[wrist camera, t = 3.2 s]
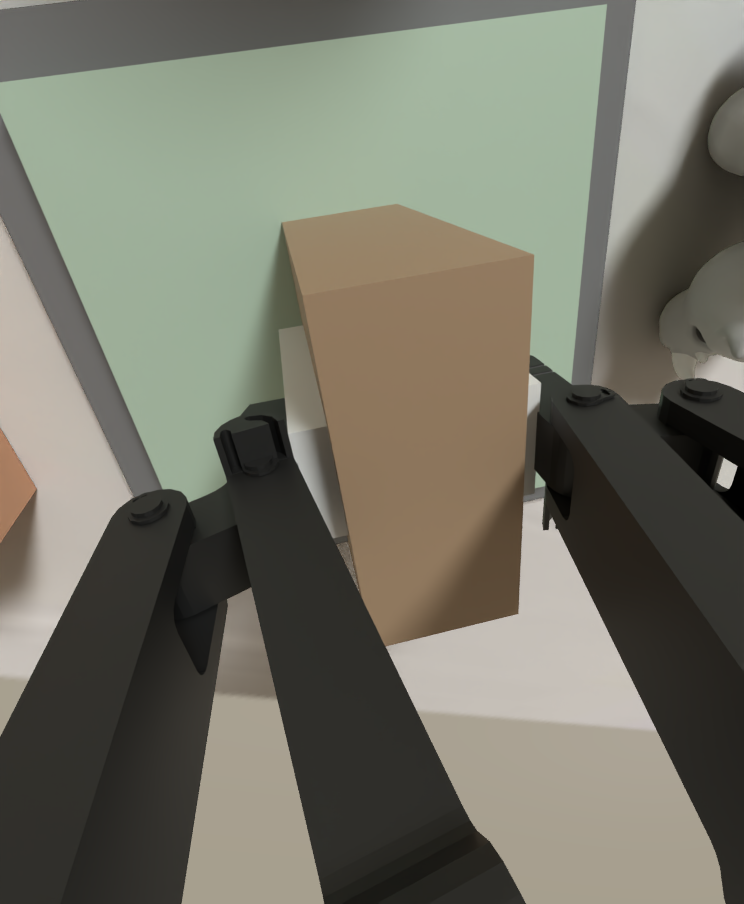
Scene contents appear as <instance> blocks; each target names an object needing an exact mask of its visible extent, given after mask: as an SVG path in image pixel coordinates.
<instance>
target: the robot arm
mask: <svg viewBox="0 0 744 904" xmlns="http://www.w3.org/2000/svg"><path fill="white" fill-rule="evenodd" d="M279 341H280V352H281V363H282V373H283V384H284V395H285V398H281V399H276V400H271V401H266V402H260V403H255V404H250V405H249V406H248V407H247V408H246V409H245V410H244V412H243V413H242V414H241V415H240V416H239V417H236V418H233V419H231V420H229V421H228V422H226V423H224V424H223V425H221V426H220V427H219V428H218V429H217V430H216V431H215V432H214V437H213V441H214V444H215V447H216V450H217V453H218V455H219V458H220V461H221V464H222V467H223V470H224V473H225V476H226V480H227V483H226V484H225V485H223V486H222V487H220V488H219V489H217V490H216V491H214V492H212V493H210V494H208V495H206V496H203V497H201V498H198V499H196V500H193V501H191V502H188V500H187V498H186V496H185V495H184V494H183V493H182V492H181V491H177V490H173V489H161V490H155V491H151V492H146V493H143V494H141V495H139V496H136V497H134V498H132V499H131V500H130V501H128V502H127V503H126V504H124V505H123V506H122V507H120V508H119V509H118V510H117V511H116V513H115V514H114V515H113V516H112V518H111V520H110V522H109V524H108V526H107V527H106V529H105V531H104V533H103V535H102V537H101V539H100V541H99V543H98V545H97V547H96V549H95V551H94V553H93V555H92V557H91V559H90V561H89V563H88V565H87V567H86V569H85V571H84V573H83V575H82V577H81V579H80V581H79V583H78V585H77V587H76V589H75V591H74V593H73V595H72V596H71V598H70V600H69V602H68V604H67V606H66V608H65V610H64V612H63V614H62V616H61V618H60V620H59V622H58V624H57V626H56V628H55V630H54V632H53V634H52V636H51V638H50V640H49V642H48V644H47V646H46V648H45V650H44V652H43V654H42V656H41V658H40V660H39V662H38V664H37V665H36V667H35V669H34V671H33V673H32V675H31V677H30V679H29V681H28V683H27V685H26V687H25V689H24V691H23V693H22V695H21V697H20V699H19V701H18V703H17V705H16V707H15V709H14V711H13V713H12V715H11V717H10V719H9V721H8V723H7V725H6V727H5V729H4V731H3V733H2V734H1V736H0V904H181V903H182V896H183V889H184V883H185V877H186V870H187V864H188V858H189V851H190V845H191V838H192V832H193V825H194V819H195V812H196V806H197V800H198V794H199V793H198V792H199V787H200V780H201V774H202V768H203V761H204V755H205V748H206V742H207V736H208V729H209V723H210V716H211V710H212V703H213V697H214V691H215V684H216V678H217V671H218V665H219V659H220V652H221V646H222V639H223V633H224V626H225V620H226V614H227V607H228V604H227V599H228V598H230V597H232V596H234V595H236V594H238V593H240V592H242V591H244V590H246V589H248V588H250V587H252V592H253V596H254V600H255V605H256V609H257V613H258V618H259V622H260V626H261V631H262V635H263V639H264V643H265V648H266V652H267V656H268V661H269V665H270V669H271V674H272V678H273V682H274V686H275V691H276V695H277V699H278V704H279V708H280V712H281V717H282V721H283V725H284V730H285V734H286V738H287V742H288V747H289V751H290V755H291V759H292V764H293V768H294V773H295V777H296V781H297V785H298V790H299V794H300V798H301V803H302V807H303V811H304V816H305V820H306V824H307V829H308V833H309V837H310V841H311V846H312V850H313V854H314V859H315V863H316V867H317V871H318V876H319V880H320V885H321V889H322V894H323V899H324V904H526V903H525V901H524V899H523V897H522V895H521V893H520V891H519V890H518V888H517V886H516V884H515V882H514V880H513V879H512V877H511V875H510V873H509V871H508V869H507V868H506V866H505V864H504V862H503V860H502V859H501V858H500V856H499V855H498V853H497V852H496V850H495V849H494V847H493V846H492V844H491V843H490V841H488V840H487V839H486V838H485V837H484V836H483V835H481V834H480V833H479V832H478V831H477V830H476V829H475V827H474V826H473V824H472V823H471V821H470V819H469V817H468V815H467V814H466V812H465V810H464V808H463V806H462V804H461V802H460V800H459V798H458V796H457V794H456V792H455V790H454V787H453V785H452V783H451V781H450V779H449V777H448V775H447V773H446V771H445V769H444V767H443V765H442V763H441V760H440V758H439V756H438V754H437V752H436V750H435V748H434V746H433V744H432V742H431V740H430V738H429V736H428V734H427V732H426V730H425V727H424V725H423V723H422V721H421V719H420V717H419V715H418V713H417V711H416V709H415V707H414V705H413V703H412V701H411V699H410V696H409V694H408V692H407V690H406V688H405V686H404V684H403V682H402V680H401V678H400V676H399V674H398V672H397V670H396V668H395V665H394V663H393V661H392V659H391V657H390V655H389V653H388V651H387V649H386V647H385V645H384V643H383V641H382V639H381V637H380V634H379V632H378V630H377V628H376V626H375V624H374V622H373V620H372V618H371V616H370V614H369V612H368V610H367V608H366V606H365V604H364V601H363V599H362V597H361V595H360V593H359V591H358V589H357V587H356V585H355V583H354V581H353V579H352V577H351V575H350V573H349V570H348V568H347V566H346V564H345V562H344V560H343V558H342V556H341V554H340V552H339V550H338V548H337V546H336V544H335V542H334V539H333V538H337V537H341V536H346V535H349V534H348V529H347V524H346V519H345V514H344V509H343V504H342V499H341V494H340V489H339V484H338V479H337V474H336V469H335V464H334V459H333V454H332V448H331V443H330V438H329V433H328V428H327V424H326V420H325V415H324V411H323V407H322V403H321V398H320V394H319V390H318V386H317V382H316V377H315V373H314V369H313V365H312V360H311V356H310V352H309V348H308V344H307V339H306V335H305V331H304V327H303V325H301V326H296V327H290V328H285V329H279ZM723 458H725V459H727V460H728V461H730V462H732V463H733V464H735V465H737V466H738V467H737V470H736V473H735V477H734V480H733V483H732V485H731V487H730V489H727V488H725V487H722V486H721V485H719V484H718V483H716V482H717V479H718V475H719V472H720V469H721V465H722V462H723ZM536 472H537V473H538V474H539V475H540V477H541V478H542V479H543V480H544V481H545V494H544V508H543V522H542V524H543V530H549V521H550V519H551V518H553V520H554V522H555V524H556V527H555V528H556V529H558V530H559V532H560V534H561V536H562V538H563V540H564V542H565V544H566V546H567V548H568V550H569V552H570V555H571V557H572V559H573V561H574V563H575V565H576V567H577V569H578V571H579V573H580V575H581V577H582V579H583V581H584V583H585V585H586V587H587V589H588V591H589V593H590V595H591V597H592V599H593V601H594V603H595V605H596V608H597V610H598V612H599V614H600V616H601V618H602V620H603V622H604V624H605V626H606V628H607V630H608V632H609V634H610V636H611V638H612V640H613V642H614V644H615V646H616V648H617V650H618V652H619V654H620V656H621V659H622V661H623V663H624V665H625V667H626V669H627V671H628V673H629V675H630V677H631V679H632V681H633V683H634V685H635V687H636V689H637V691H638V693H639V695H640V697H641V699H642V701H643V703H644V705H645V707H646V709H647V712H648V714H649V716H650V718H651V720H652V722H653V724H654V726H655V728H656V730H657V732H658V734H659V736H660V738H661V740H662V742H663V744H664V746H665V748H666V750H667V752H668V754H669V756H670V758H671V760H672V762H673V764H674V766H675V769H676V771H677V772H678V775H679V777H680V779H681V781H682V783H683V785H684V787H685V789H686V791H687V793H688V795H689V797H690V799H691V801H692V803H693V805H694V807H695V809H696V811H697V813H698V815H699V817H700V819H701V822H702V824H703V826H704V828H705V830H706V831H707V834H708V836H709V838H710V840H711V843H712V845H713V847H714V850H715V852H716V855H717V858H718V862H719V865H720V870H721V878H722V885H723V893H724V899H725V903H726V904H744V393H743V392H741V391H739V390H737V389H734V388H732V387H730V386H727V385H724V384H721V383H718V382H714V381H708V380H706V379H702V378H696V379H695V378H688V379H685V380H678V381H673V382H671V383H668V384H666V385H665V386H664V388H663V389H662V392H661V397H660V402H659V404H637V405H628V404H627V403H626V402H625V401H624V400H623V399H622V398H621V396H620V395H618V394H617V393H615V392H614V391H612V390H610V389H608V388H604V387H601V386H594V385H572V384H570V383H569V382H568V381H566V380H565V379H564V378H562V377H561V376H560V375H558V374H557V373H556V372H553V370H552V369H550V368H549V367H548V366H546V365H545V366H544V363H542V362H541V361H540V360H538V359H537V358H536V357H534V356H532V355H530V363H529V385H528V407H527V430H526V452H525V474H524V496H525V495H530V494H534V493H535V477H536Z"/></svg>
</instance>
